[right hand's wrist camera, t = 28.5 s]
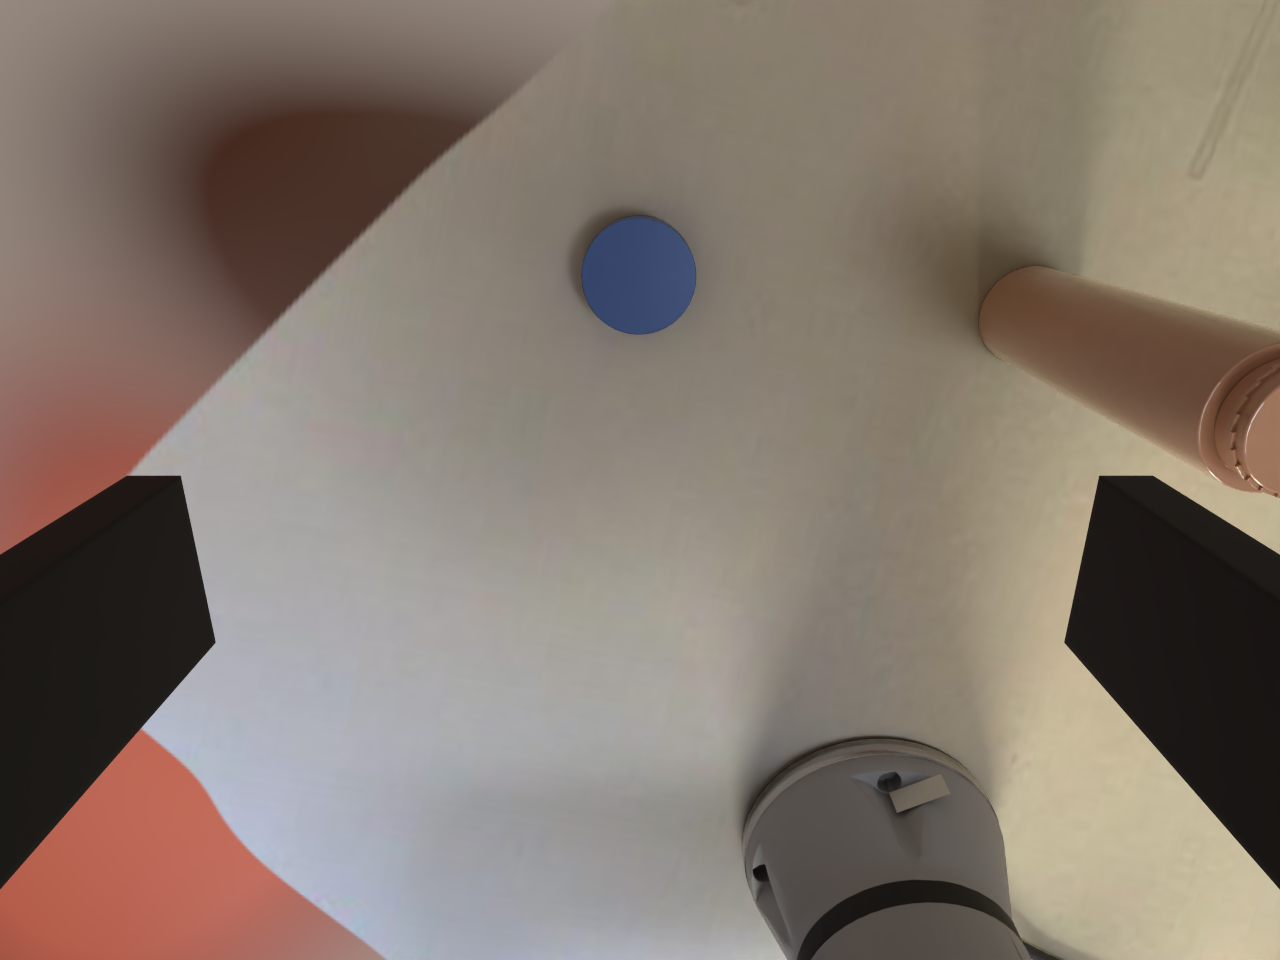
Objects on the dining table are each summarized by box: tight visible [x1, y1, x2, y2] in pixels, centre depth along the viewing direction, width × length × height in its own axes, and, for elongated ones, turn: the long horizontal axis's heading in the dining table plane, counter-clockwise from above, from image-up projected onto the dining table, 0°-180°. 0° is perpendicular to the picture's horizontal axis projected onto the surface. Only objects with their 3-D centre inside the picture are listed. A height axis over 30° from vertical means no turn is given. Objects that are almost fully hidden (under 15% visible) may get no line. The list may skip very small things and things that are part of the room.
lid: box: [582, 216, 696, 334], centre depth 39 cm, size 5×5×2 cm
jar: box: [979, 266, 1280, 497], centre depth 32 cm, size 5×5×18 cm
